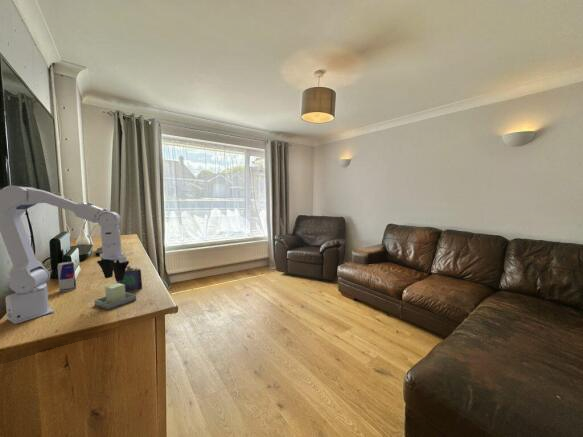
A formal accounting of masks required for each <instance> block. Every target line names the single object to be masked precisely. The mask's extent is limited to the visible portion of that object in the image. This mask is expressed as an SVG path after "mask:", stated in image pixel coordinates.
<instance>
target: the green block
mask: <svg viewBox="0 0 583 437" xmlns="http://www.w3.org/2000/svg"><path fill="white" fill-rule="evenodd" d="M104 287H105V288H104V289H105V296H106V302H107V303H113V302H116V301H119V300H122V299H125V298H126V295H125V292H126V291H125V285H124V284H120V283H117V282H116V283H113V284H111V285H107V286H104Z"/></svg>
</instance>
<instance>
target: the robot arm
mask: <svg viewBox="0 0 583 437" xmlns="http://www.w3.org/2000/svg"><path fill="white" fill-rule="evenodd" d="M38 204H46V205H47V204H48V205H51V206H54V207H58V208H60V209H63V210H66V211H70V212H72V213H73V214H74V216H75V217H77V218H79V219H82V220H85V221H88V222H91V223H94V224H98V225H99V227H100V230H101V231H100V236H101V238H100V239H101V248H102V252H101V253H99V259H100V260H97V261H96V263H97V264H98V266H99V267H100V269H101V271H102V274H103V275H104V276H103V277H104V278H105V279H110V278H113V275H114V278H115V282H117V281H120V280H123V278H124V273H125V270H127V268H126V267H127V266H129V265H130V264H129V263H130V261H129V260H127V257H126V254H125V252H122V240H121V230H120V223H121V221H122V217H121V215H120V214H119V213H118V212H116V211H114V210H110V211H109V209H108V208H107V207H106V208H105V207H103V208H102V207H99V206H97V205H94V203H93V202H90V201H89V202H85V201H84V202H80V203H77V202H74V201H72V200H70V199H68V198H65V197H62V196H60V195H57V194H55V193H52V192H49V191H46V190H43V189H37V188H36V187H32V186H18V185H7V186H5V187H3V188H1V189H0V235H1V238H2V241H3V243H4V246H5V248H6V251H7V253H8V255H9V258H10V261H11V264H12V267H11V269H10V271H9V273H8V274H9V277H10V278H9V279H10V280H9V288H10V289H11V290H12V291H13V292H15V293H11V294H8V295H6V296H5V308H6V309H5V310H6V320H8V321H9V322H11V323H12V324H14V325H17V324H20V323H23V322H27V321H29V320H32V319H33V320H34V319H36V318H39V317H43V316H45V315H49V314H52V313H54V312H55V309H52V308H50V306H49V305H50V304H49V294H48V285H47V282H48V280H50V277H51V273H50V271H49V270H48V269H47V268H46V267H44V265H43V262H41V261H40V260H37V257H36V255H35V252H34V250H33V247H32V244H31V242H30V239H29V235H28V233H27V231H26V228H25V226H24V223H23V219H22V215H23V214H24V213H25V212H26V211H27V210H28V209H30V208H32V207H34V206H36V205H38Z"/></svg>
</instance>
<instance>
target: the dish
mask: <svg viewBox="0 0 583 437" xmlns="http://www.w3.org/2000/svg"><path fill="white" fill-rule="evenodd" d="M125 295H126V298H125V299H122V300H119V301H116V302H113V303H107V302H106V295H105V296H103V297H100V298H96V299H94V306H96V307H98V308H102V309H104V310H106V311H110V310H113V309H116V308H119V307H121V306H124V305H126V304H129V303H133V302H136V301H137V295H136V294H132V293H131V292H130V293H129V292H128V291H125Z"/></svg>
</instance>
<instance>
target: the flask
mask: <svg viewBox="0 0 583 437" xmlns="http://www.w3.org/2000/svg"><path fill="white" fill-rule="evenodd" d="M142 280H143V279H142V270H141V268H137V267H136V268H133V267H131V265H127V267H126V270H125V273H124V278H123V280H120V281H116V284H117V283H120V284H124V285H125V292H131V291H139V290H142V289H143V281H142Z"/></svg>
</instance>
